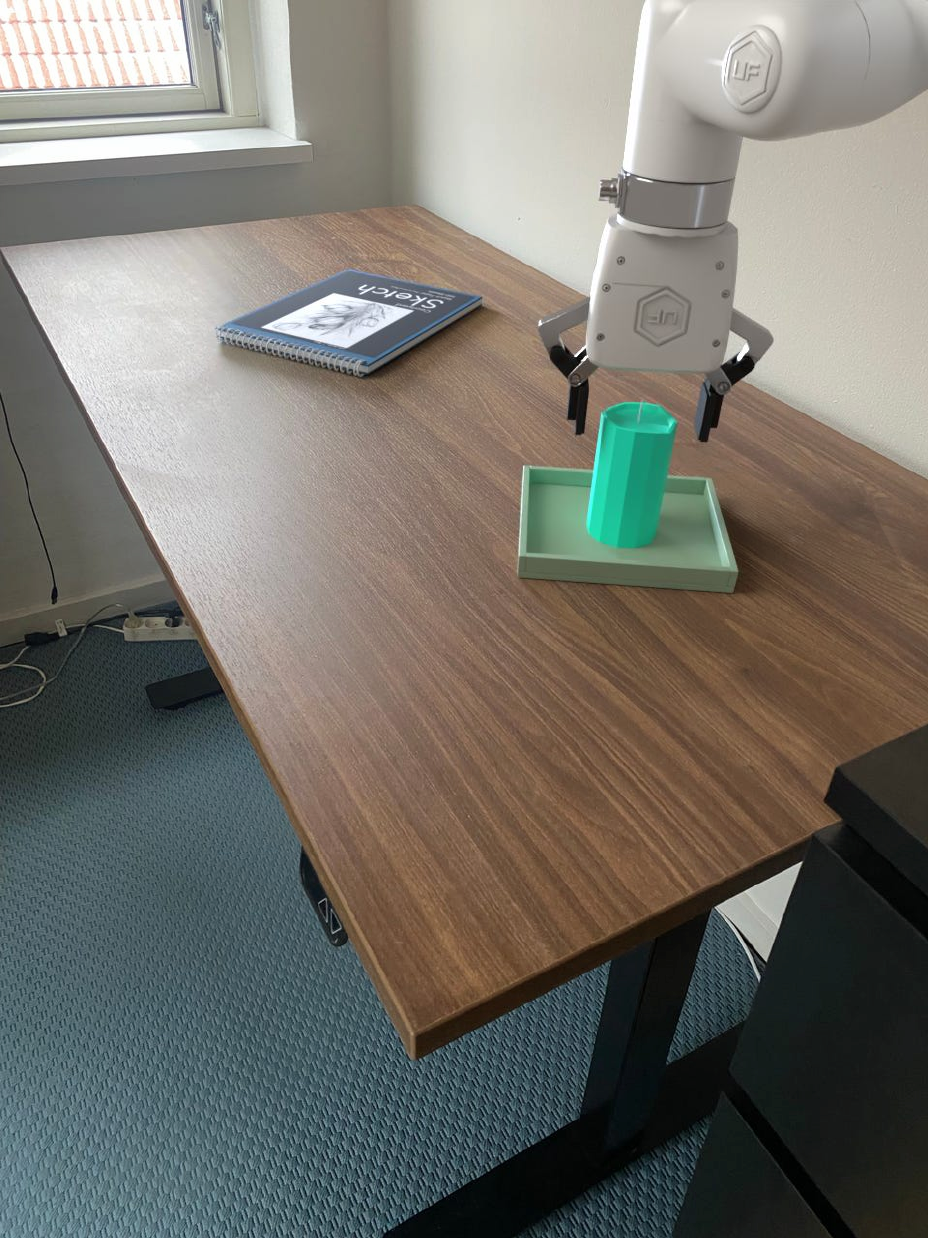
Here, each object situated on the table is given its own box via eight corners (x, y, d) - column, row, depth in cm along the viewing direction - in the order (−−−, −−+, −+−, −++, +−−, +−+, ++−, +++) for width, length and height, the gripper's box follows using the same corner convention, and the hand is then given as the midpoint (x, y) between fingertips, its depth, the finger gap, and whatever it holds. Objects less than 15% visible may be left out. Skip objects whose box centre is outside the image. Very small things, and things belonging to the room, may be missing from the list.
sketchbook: (482, 306, 125) (483, 290, 124) (363, 382, 104) (363, 364, 103) (347, 277, 133) (347, 262, 131) (211, 342, 111) (209, 325, 110)
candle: (601, 552, 76) (622, 417, 69) (575, 515, 81) (592, 385, 74) (667, 544, 78) (694, 411, 70) (638, 508, 82) (661, 380, 75)
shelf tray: (707, 497, 85) (712, 477, 84) (733, 593, 73) (738, 571, 72) (521, 485, 86) (523, 464, 85) (517, 577, 74) (518, 555, 73)
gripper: (547, 208, 61) (529, 446, 71) (814, 220, 60) (757, 459, 70) (548, 183, 67) (531, 406, 77) (790, 194, 66) (741, 417, 76)
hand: (639, 431), depth 74 cm, fingers open, 9 cm apart
